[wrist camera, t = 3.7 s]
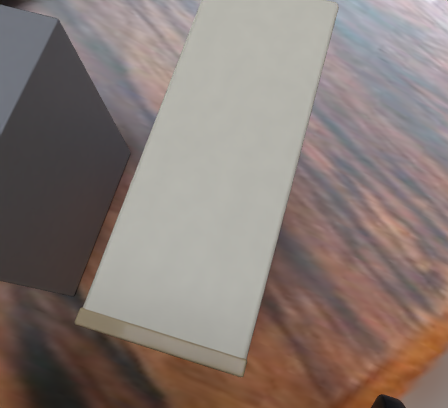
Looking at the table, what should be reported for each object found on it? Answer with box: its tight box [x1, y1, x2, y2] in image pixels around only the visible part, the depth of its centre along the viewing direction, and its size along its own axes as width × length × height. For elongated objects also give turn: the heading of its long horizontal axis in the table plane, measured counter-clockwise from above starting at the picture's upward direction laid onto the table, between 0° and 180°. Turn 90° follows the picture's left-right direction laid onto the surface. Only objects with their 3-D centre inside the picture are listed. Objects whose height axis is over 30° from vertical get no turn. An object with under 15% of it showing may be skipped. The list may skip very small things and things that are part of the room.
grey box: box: [0, 4, 130, 296], centre depth 17 cm, size 8×6×10 cm
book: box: [75, 0, 338, 377], centre depth 14 cm, size 8×3×13 cm, turn 163°
